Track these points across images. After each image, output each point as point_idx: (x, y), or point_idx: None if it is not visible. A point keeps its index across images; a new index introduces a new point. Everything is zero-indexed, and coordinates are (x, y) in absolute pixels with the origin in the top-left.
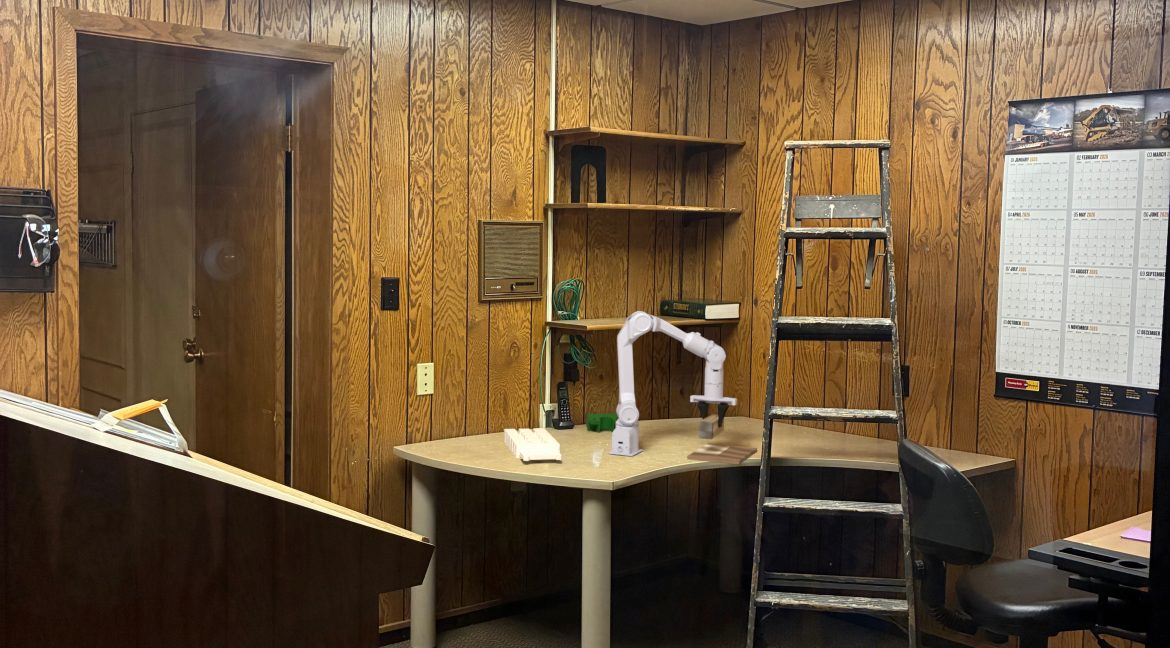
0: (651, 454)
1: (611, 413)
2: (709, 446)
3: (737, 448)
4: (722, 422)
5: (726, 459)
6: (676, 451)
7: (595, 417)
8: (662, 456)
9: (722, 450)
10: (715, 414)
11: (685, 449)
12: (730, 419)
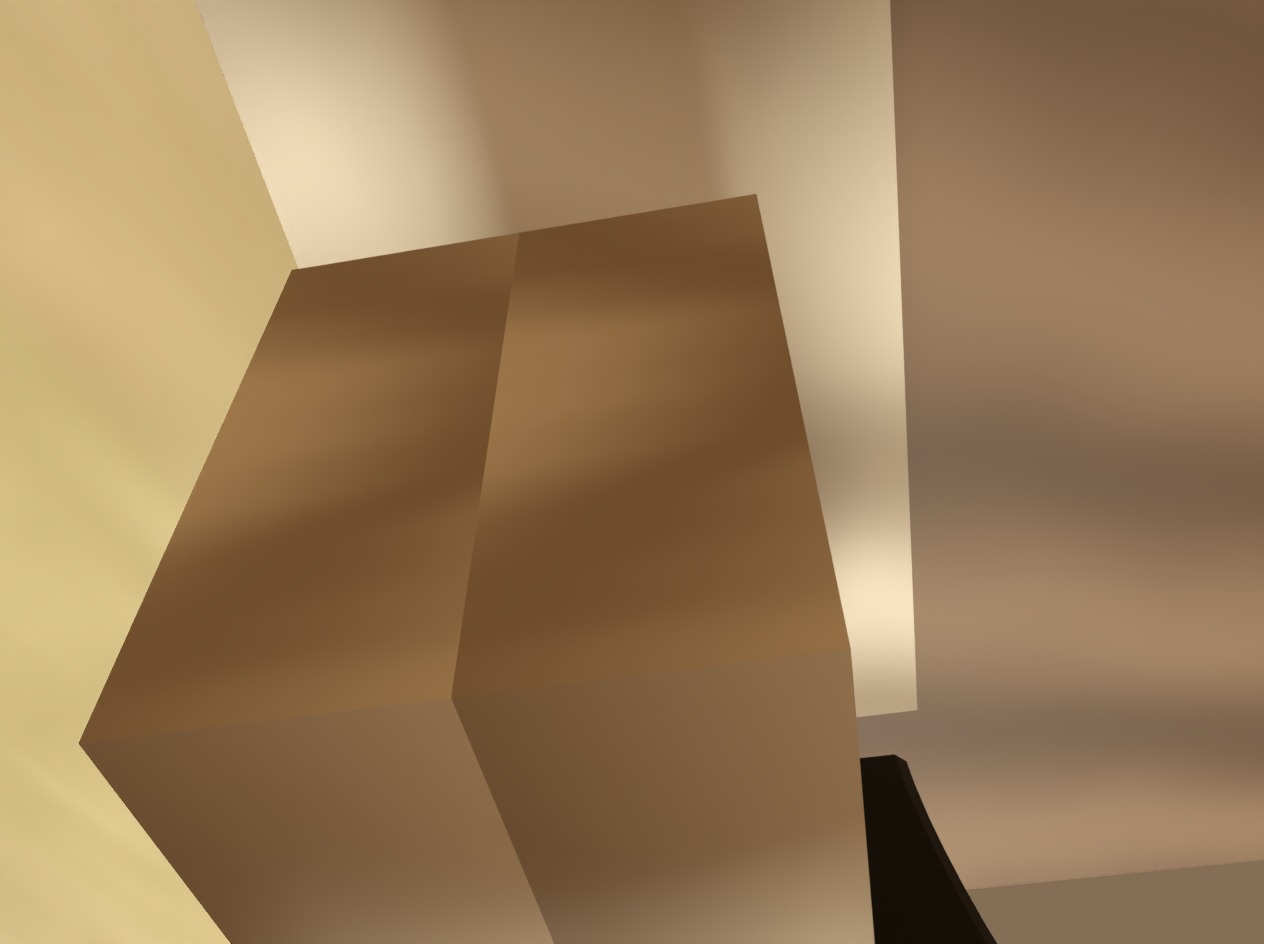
0: (25, 898)
1: None
2: (429, 215)
3: None
4: (952, 881)
5: (1124, 861)
6: (88, 618)
7: None
8: None
9: (864, 416)
10: (302, 723)
11: (54, 410)
12: None
